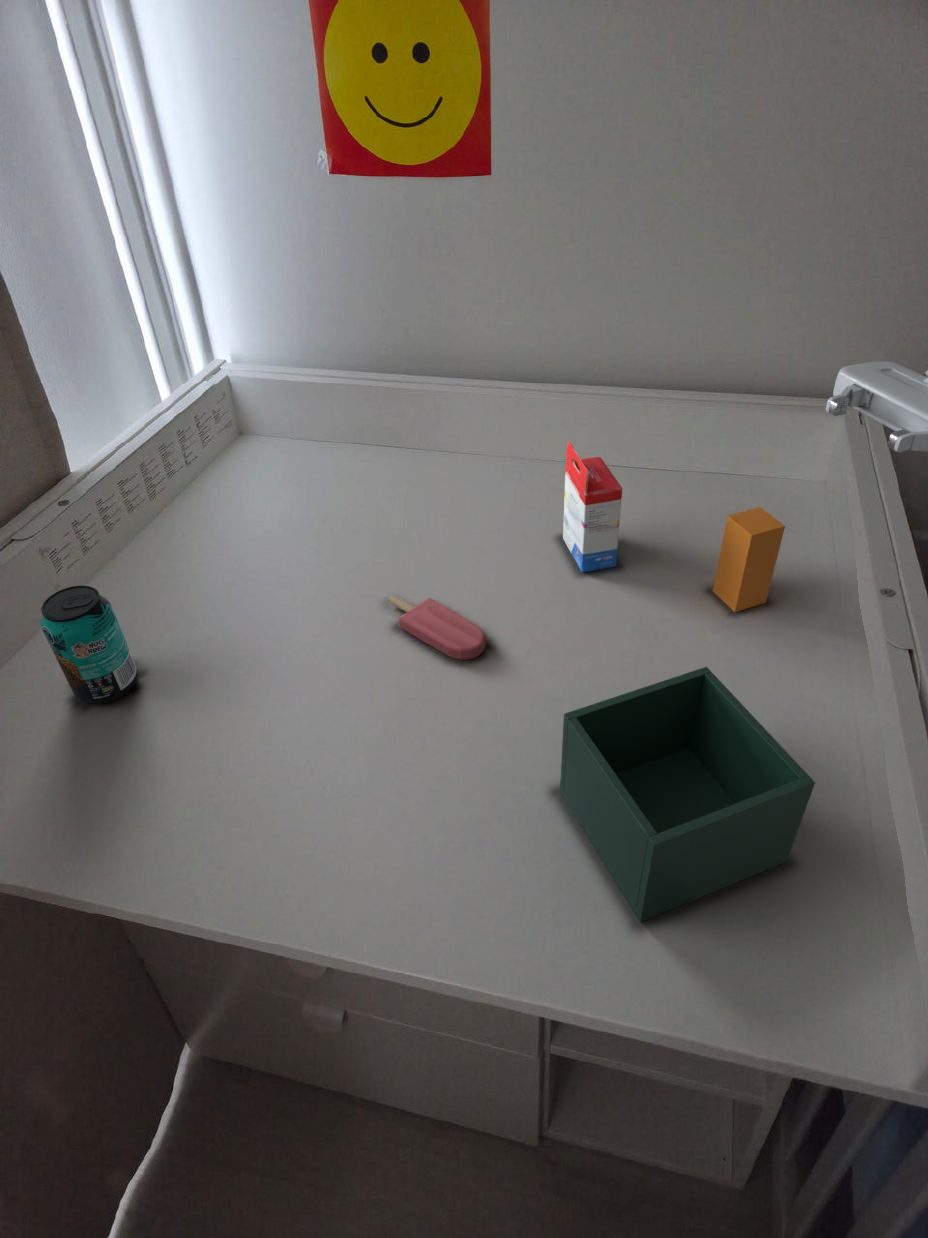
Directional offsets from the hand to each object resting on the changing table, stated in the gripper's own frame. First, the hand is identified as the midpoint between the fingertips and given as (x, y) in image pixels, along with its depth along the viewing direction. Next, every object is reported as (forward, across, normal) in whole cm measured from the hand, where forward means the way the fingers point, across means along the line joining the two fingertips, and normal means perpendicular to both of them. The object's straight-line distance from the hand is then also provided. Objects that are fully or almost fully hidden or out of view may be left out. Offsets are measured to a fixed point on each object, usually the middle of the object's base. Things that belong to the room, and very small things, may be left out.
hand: (860, 424), depth 89 cm
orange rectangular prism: (+12, 0, +20) cm, 23 cm away
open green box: (+38, +25, +20) cm, 50 cm away
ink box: (+24, -16, +20) cm, 35 cm away
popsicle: (+48, -10, +20) cm, 53 cm away
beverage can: (+85, -16, +20) cm, 89 cm away
